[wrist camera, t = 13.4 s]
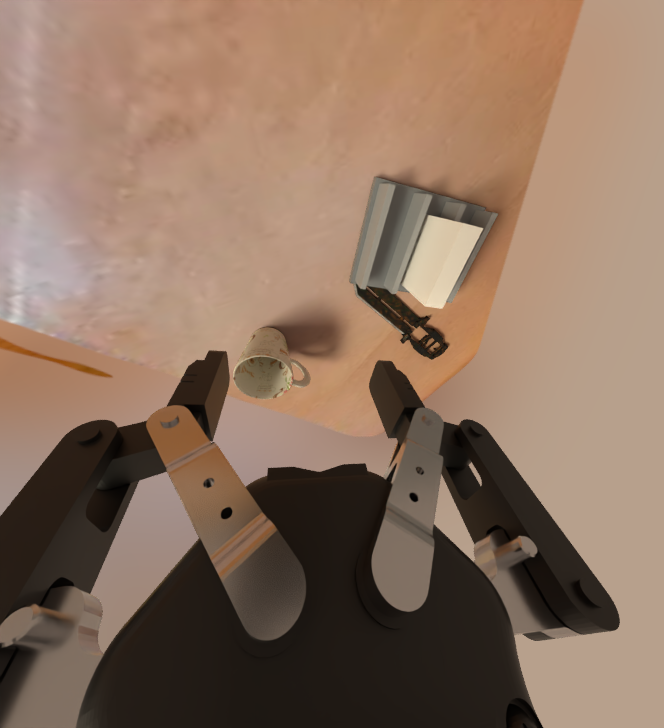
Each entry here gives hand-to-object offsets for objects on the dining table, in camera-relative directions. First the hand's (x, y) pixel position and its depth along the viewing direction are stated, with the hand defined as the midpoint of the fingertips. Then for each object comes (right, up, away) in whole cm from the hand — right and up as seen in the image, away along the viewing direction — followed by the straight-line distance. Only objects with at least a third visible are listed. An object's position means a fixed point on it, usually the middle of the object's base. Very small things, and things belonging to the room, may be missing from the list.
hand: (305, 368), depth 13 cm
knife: (+14, +8, +30) cm, 35 cm away
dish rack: (+13, +18, +22) cm, 31 cm away
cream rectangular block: (+14, +17, +22) cm, 31 cm away
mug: (-8, +4, +30) cm, 31 cm away
